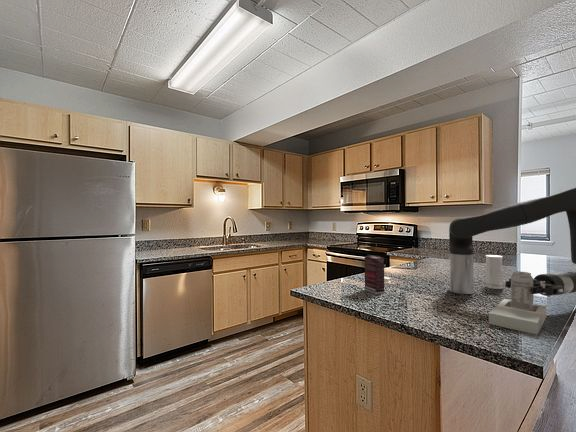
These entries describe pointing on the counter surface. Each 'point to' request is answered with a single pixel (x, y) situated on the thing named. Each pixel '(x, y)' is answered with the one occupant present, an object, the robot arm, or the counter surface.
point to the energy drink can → (521, 290)
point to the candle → (494, 271)
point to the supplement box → (374, 274)
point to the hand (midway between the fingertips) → (518, 287)
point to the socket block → (518, 317)
